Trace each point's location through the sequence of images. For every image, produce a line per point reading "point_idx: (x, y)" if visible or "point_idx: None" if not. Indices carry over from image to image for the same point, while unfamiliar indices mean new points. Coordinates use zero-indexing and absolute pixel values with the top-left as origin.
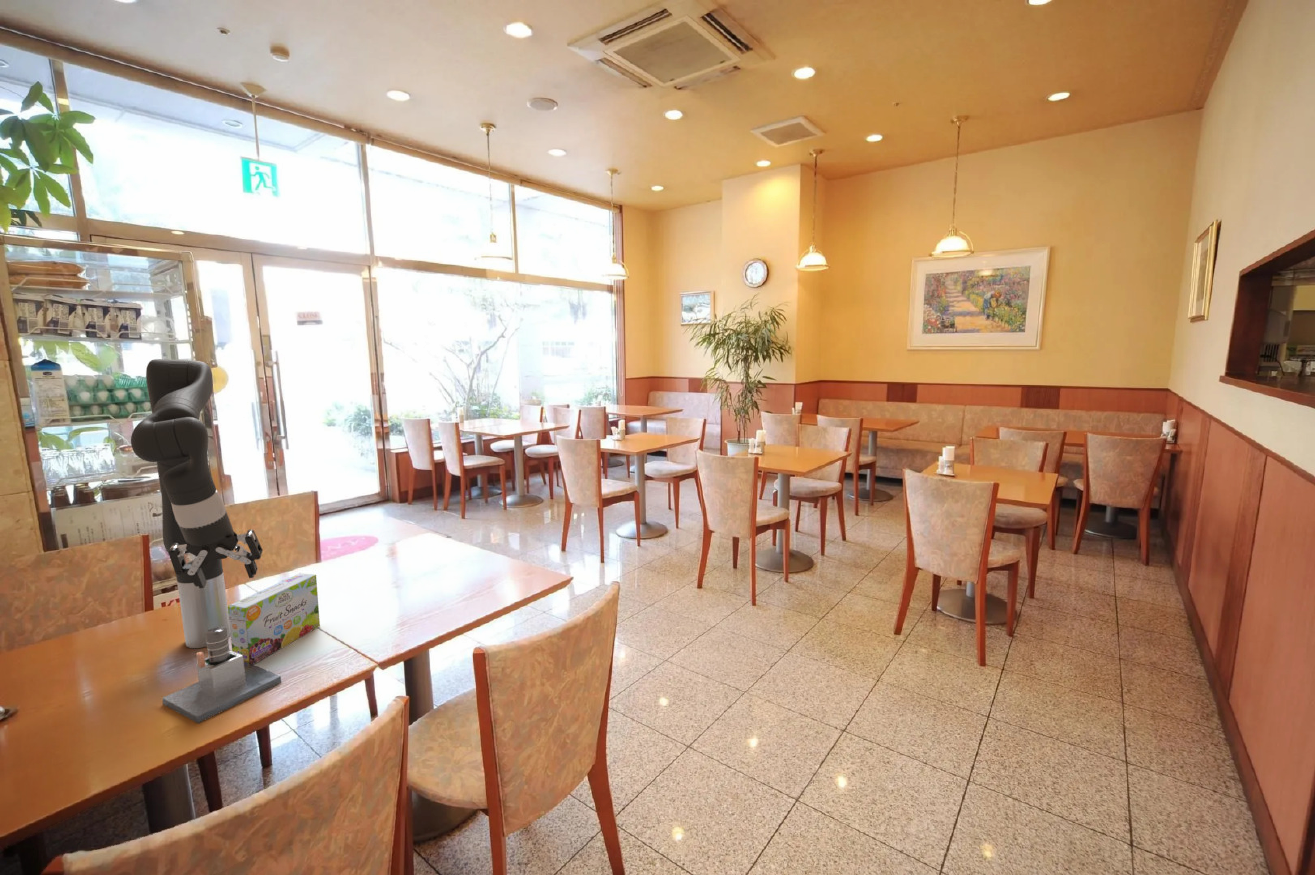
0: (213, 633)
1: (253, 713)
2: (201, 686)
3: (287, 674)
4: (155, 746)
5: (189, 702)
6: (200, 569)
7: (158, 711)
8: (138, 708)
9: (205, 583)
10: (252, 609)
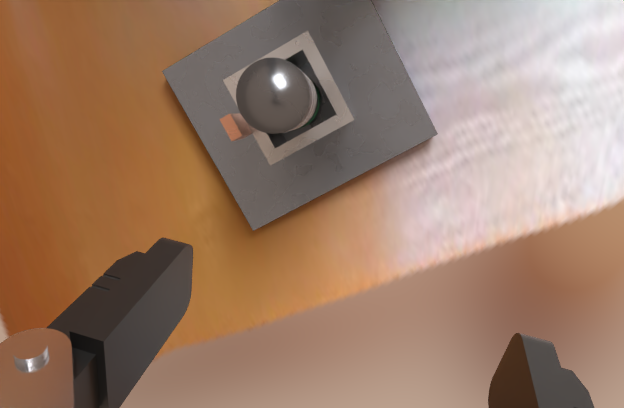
0: (265, 123)
1: (366, 255)
2: None
3: (452, 92)
4: None
5: (228, 143)
6: (109, 355)
7: (165, 104)
8: (117, 56)
9: (188, 269)
10: None
